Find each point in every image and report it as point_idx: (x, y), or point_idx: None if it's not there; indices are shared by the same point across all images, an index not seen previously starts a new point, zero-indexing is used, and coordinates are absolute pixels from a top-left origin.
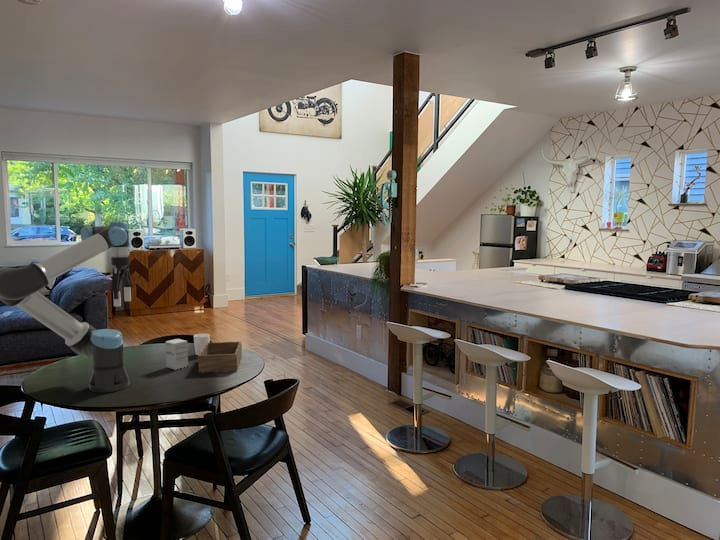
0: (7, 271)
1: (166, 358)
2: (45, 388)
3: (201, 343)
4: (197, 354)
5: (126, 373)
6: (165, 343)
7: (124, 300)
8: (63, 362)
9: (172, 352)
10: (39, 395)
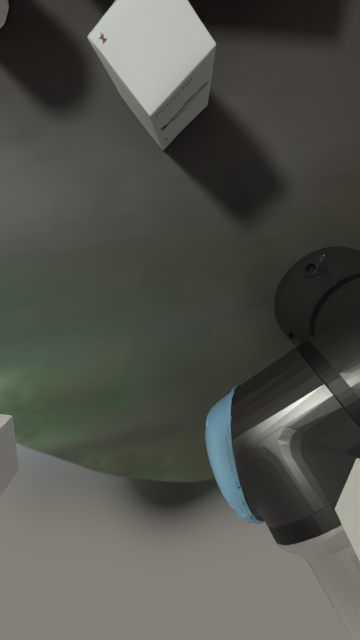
0: None
1: (164, 138)
2: None
3: None
4: (2, 17)
5: (351, 259)
6: (153, 118)
7: (11, 478)
8: (62, 454)
9: (202, 85)
10: None
